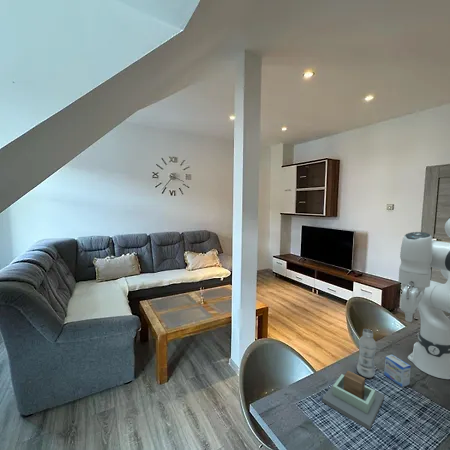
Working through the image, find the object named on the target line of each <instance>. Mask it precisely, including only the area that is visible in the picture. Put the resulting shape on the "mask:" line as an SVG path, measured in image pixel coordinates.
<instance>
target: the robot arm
mask: <svg viewBox="0 0 450 450" xmlns="http://www.w3.org/2000/svg"><path fill="white" fill-rule="evenodd" d="M444 231H445V234H446V235H447V237H448V238H449V239H450V216H449V217H448V218H447V220H446V222H445V224H444ZM399 253H400V254H399V255H400V256H399V258H400V265H399V270H398V282H399V283H401V284H402V288H403V289H402V292H401V298H400V311H401V312H403V313H404V316H405V318H404V320H405V322H409V323H412V322H413V317H414V316H413V314H415V313H417V312H419V317H420V332H419V333H418V337H417V339H418V340H417V341H415V343H414V344H413V348H412V349H413V351H412V352H411V353H410V354H408V356H407V360H409V361H410V362H411V363H413V365H414V366H415V367H416V368H417V369H419V370H420V371H422V372H423V373H425V374H428V375H429V376H432V377H434V378H438V379H443V380H450V318H449V317H448V316H447V315H446V314H445V313H448V314H450V242H446V241H438V240H434V239H433V237H432V235H431V233H427V232H425V231H424V232H421V231H415V232H414V231H413V232H408V233H406V234H404V235H403V237H402V242H401V245H400V252H399ZM431 268H433V269H438V270H440V273H441V275H442V276H443V278H445V280H447V281H446V282H445V283H442V282H439V281H435V280H431V279H432V277H431V276H432V269H431Z"/></svg>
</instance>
